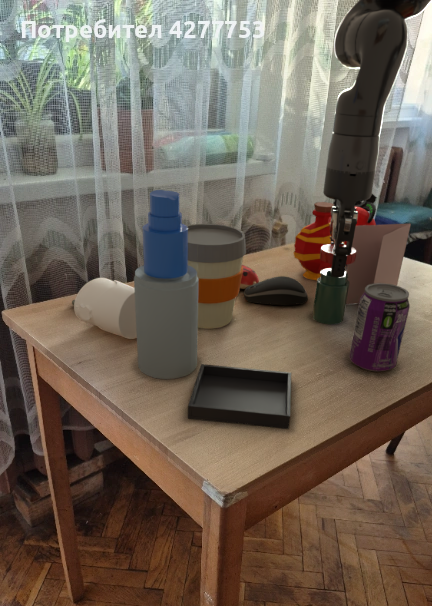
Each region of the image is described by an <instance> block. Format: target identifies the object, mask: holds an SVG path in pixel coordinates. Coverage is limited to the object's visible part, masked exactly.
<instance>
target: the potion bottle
mask: <svg viewBox="0 0 432 606" xmlns="http://www.w3.org/2000/svg"><path fill="white" fill-rule="evenodd" d="M313 206H314V209H313V210H312V213H311V214H312V215H313V216H315V220H314V222H312V223H310V224H307V225H305V226H304V227H302V228H301V229H300V231H299V232H298V233H297V234H296V235H295V241H294V245H293V246H294V251H293V257H294V259H297V260H298V262H299V263H300V265H301V267H302V268H303V269H304V270H305V271H304V273H303V274H302V276H303V277H304V278H306V279H307V280H313V281H317V279H318V278H319V277H321V274H320V272H321V271H322V270H324V269H329V268H331V267H332V264H330V263H326V262H324V261H322V260H321V259H320V250H321V247H322V246H324V245H327V244H331V242H332V241H330V236H331V235H330V223H329V220H330V217H331V208H332V207H333V206H334V204H333V202H326V201H317V202H315V203H313ZM342 243H344V242H342Z"/></svg>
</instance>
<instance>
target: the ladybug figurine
mask: <svg viewBox="0 0 432 606" xmlns="http://www.w3.org/2000/svg"><path fill="white" fill-rule="evenodd" d="M242 266H243V273H242V279H241V284H240V289H239V290H245V289H246V288H247V287H249V286H251V285H254V284H256V283H259V282H260V278H259V276H258V274H257V273H256V271H255V270H254V269H252V268H251V267H249V266H247V265H244V264H242Z"/></svg>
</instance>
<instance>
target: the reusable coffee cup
mask: <svg viewBox="0 0 432 606" xmlns="http://www.w3.org/2000/svg"><path fill="white" fill-rule="evenodd" d="M185 225H186V226H187V228H188V265H189V266H191V267H193V268H194V269H196V271H197V276H198V279H199V282H198V329H204V330H205V329H206V330H207V329H218V328H222V327H225V326H227V325H228V324H230V323H231V321H232V319H233V313H234V308H235V303H236V298H237V297H238V296H239V293H240V290H241V289H240V284H241V279H242V273H243V266H242V265H243V260H244V256H245V255H246V253H247V248H246V246H247V245H246V235H245V232H244V231H242V230H241V229H239V228H237V227H234V226H231V225H225V224H217V223H193V224H185Z"/></svg>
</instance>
